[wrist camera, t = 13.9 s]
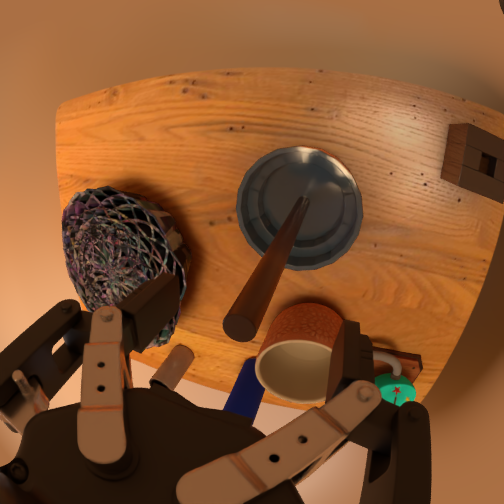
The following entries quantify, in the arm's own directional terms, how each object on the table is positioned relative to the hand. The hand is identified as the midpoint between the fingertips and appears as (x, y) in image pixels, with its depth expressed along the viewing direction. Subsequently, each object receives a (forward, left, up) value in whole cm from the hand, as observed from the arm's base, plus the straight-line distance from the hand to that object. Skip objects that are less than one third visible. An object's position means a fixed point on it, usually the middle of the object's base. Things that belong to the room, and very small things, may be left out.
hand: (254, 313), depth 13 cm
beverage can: (+31, -3, -26) cm, 41 cm away
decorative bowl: (+14, -26, -26) cm, 39 cm away
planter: (+19, +4, -26) cm, 33 cm away
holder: (-11, +20, -26) cm, 35 cm away
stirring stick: (0, 0, -25) cm, 25 cm away
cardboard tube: (+34, -18, -26) cm, 47 cm away
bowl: (0, -1, -26) cm, 26 cm away
